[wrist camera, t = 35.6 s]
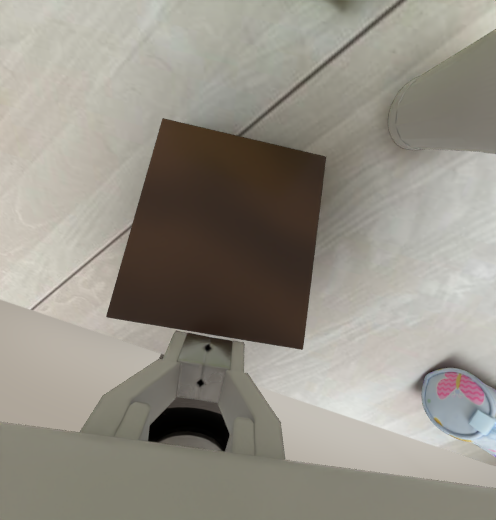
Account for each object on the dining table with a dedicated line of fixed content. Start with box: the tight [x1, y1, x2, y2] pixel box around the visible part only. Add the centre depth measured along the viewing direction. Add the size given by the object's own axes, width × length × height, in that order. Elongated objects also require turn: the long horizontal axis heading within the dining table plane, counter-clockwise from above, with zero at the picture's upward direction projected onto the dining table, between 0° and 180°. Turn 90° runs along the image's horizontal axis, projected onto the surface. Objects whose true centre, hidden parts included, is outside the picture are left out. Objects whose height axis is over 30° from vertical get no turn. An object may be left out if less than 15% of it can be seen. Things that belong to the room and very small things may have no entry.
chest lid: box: [106, 118, 326, 350], centre depth 17 cm, size 14×13×1 cm
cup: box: [388, 29, 496, 154], centre depth 17 cm, size 8×8×12 cm
